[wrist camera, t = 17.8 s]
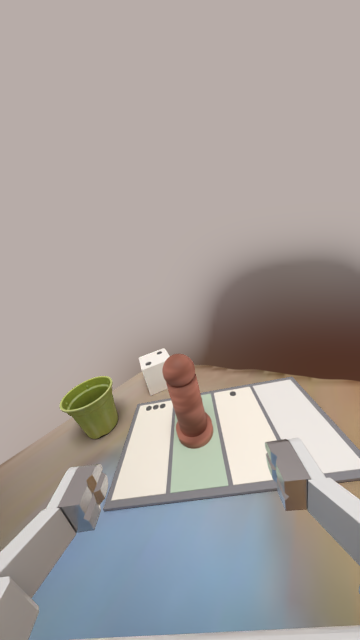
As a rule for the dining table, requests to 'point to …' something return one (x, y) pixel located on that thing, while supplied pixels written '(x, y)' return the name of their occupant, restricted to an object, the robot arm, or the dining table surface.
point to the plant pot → (92, 406)
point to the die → (154, 370)
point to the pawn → (187, 402)
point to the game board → (226, 446)
